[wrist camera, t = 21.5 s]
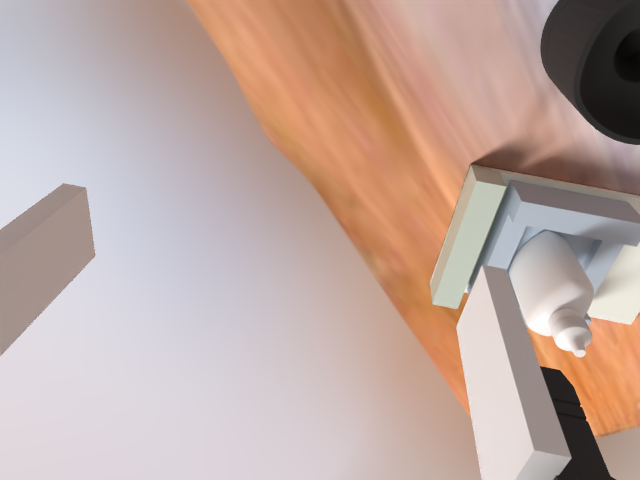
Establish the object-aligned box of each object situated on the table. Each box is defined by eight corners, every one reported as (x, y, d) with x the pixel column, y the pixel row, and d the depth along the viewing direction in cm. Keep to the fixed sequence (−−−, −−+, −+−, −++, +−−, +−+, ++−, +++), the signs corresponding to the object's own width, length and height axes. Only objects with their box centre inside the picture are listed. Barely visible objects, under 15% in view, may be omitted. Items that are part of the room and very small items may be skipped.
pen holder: (702, -32, 32) (814, -23, 23) (638, 106, 37) (711, 155, 29) (560, -49, 32) (619, -46, 24) (516, 90, 37) (552, 133, 29)
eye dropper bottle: (577, 259, 42) (635, 359, 32) (516, 285, 44) (552, 386, 34) (556, 223, 41) (611, 316, 30) (494, 252, 43) (526, 347, 33)
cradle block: (510, 179, 41) (521, 201, 37) (628, 201, 40) (649, 225, 37) (467, 288, 47) (472, 315, 44) (567, 308, 47) (581, 336, 43)
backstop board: (470, 163, 41) (476, 181, 38) (703, 207, 40) (728, 228, 37) (429, 281, 48) (432, 304, 45) (628, 320, 47) (643, 345, 44)
